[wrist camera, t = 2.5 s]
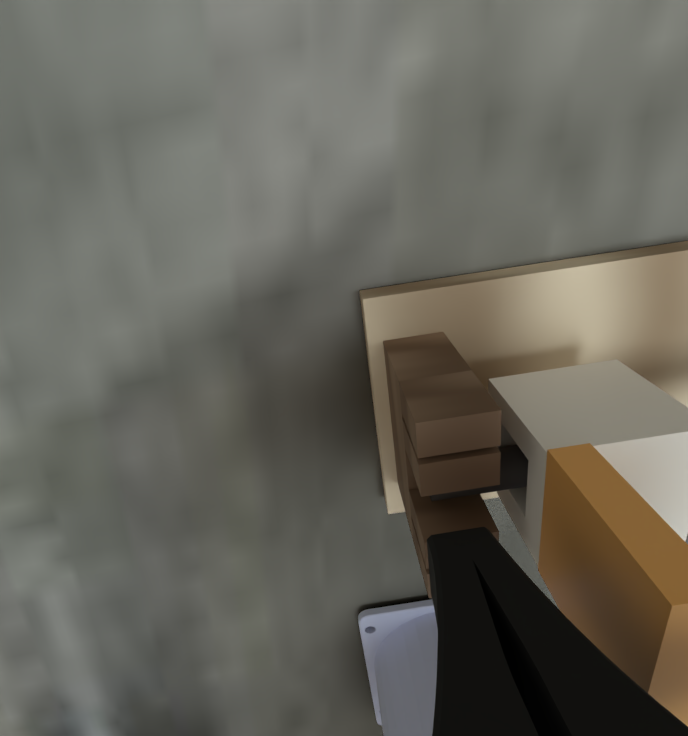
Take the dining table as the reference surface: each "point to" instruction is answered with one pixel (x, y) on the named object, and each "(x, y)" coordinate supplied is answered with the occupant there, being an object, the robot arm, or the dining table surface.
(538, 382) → the sleeve
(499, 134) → the dining table surface
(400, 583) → the dining table surface
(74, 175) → the dining table surface
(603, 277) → the board
